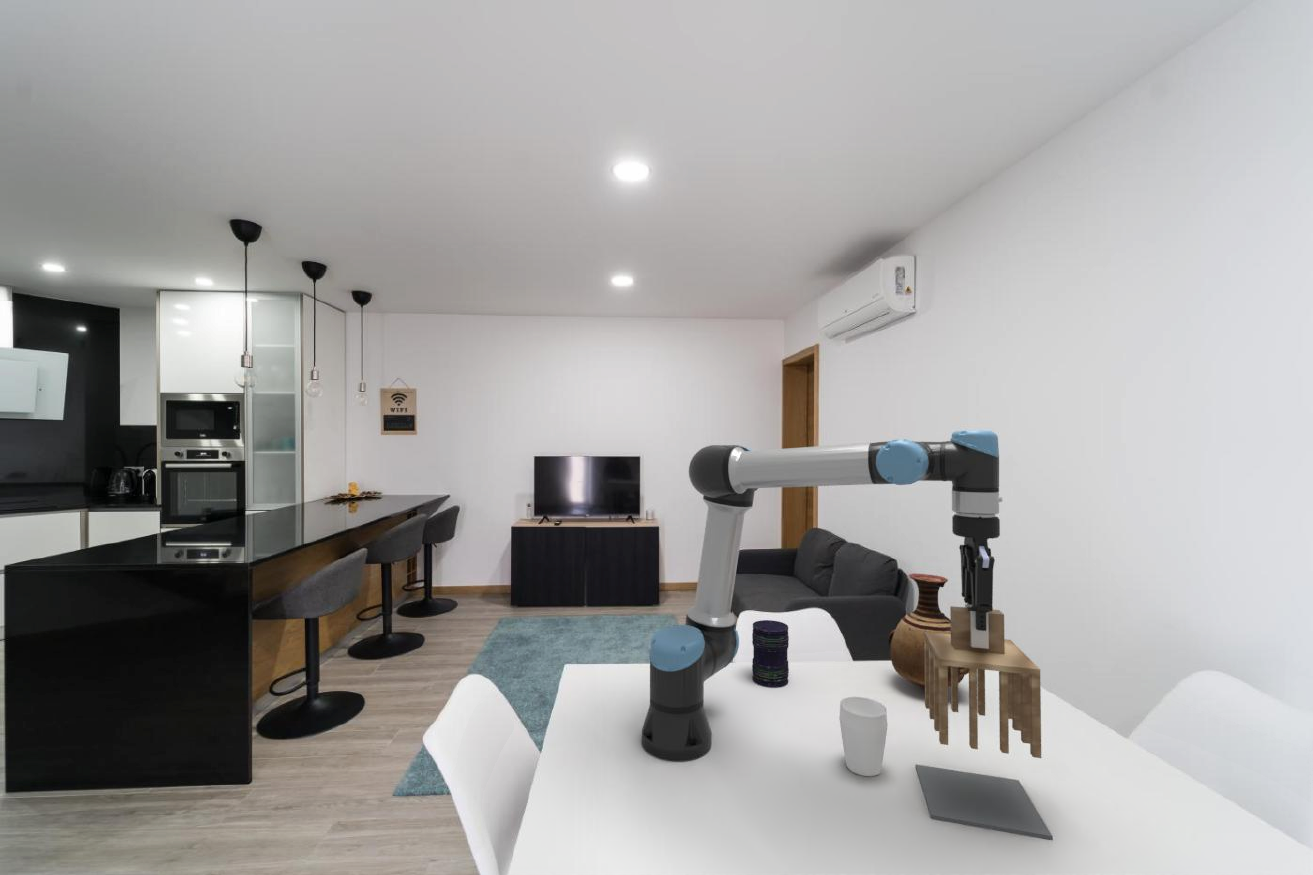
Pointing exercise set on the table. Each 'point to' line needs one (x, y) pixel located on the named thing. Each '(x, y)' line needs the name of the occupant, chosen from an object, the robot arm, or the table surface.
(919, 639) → the vase
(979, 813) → the mat
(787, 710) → the table surface
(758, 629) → the dark blue cylinder
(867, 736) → the cup
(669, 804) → the table surface
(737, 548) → the robot arm
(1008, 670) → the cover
